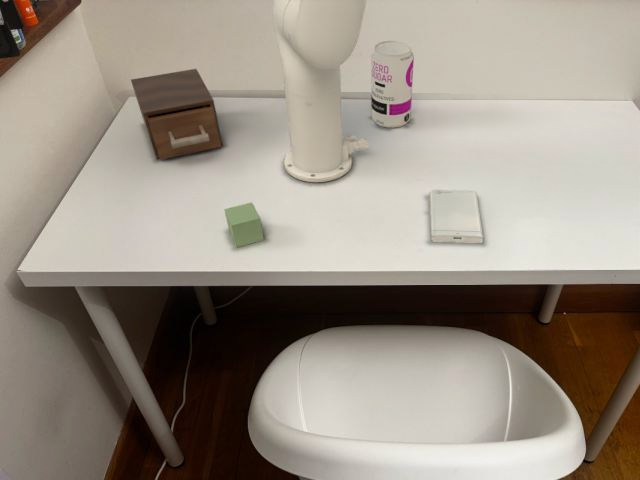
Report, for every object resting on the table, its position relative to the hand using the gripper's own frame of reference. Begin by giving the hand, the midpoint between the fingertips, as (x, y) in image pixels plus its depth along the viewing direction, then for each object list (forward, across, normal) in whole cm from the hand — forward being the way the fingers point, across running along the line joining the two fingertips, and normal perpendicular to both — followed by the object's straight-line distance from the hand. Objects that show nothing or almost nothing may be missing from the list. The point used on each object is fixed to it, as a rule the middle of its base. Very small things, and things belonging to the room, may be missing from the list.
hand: (9, 42), depth 75 cm
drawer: (+27, +16, -19) cm, 37 cm away
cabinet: (+28, +20, -19) cm, 40 cm away
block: (+28, -15, -24) cm, 40 cm away
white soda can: (+28, +12, -60) cm, 68 cm away
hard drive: (+28, -23, -57) cm, 68 cm away
